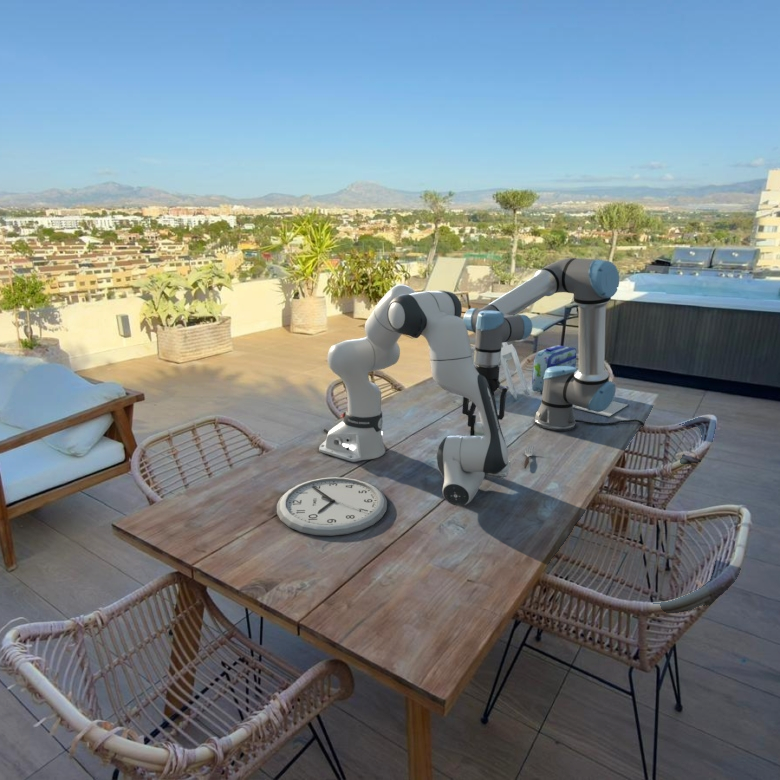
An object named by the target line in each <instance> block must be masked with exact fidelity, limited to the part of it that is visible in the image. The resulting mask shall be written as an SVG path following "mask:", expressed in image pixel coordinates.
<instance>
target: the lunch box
mask: <svg viewBox="0 0 780 780" xmlns="http://www.w3.org/2000/svg"><path fill="white" fill-rule="evenodd" d="M576 362H577V348H576V347H571V346H565V345H553V346H550V347H546V348H545V349H542V350H539V351H538V352H537V353H536V354H535V356H534V358H533V365H532V376H531V377H532V378H531V390H532V391H533V392H537V393H542V391H543V381H544V379H543V378H544V375H545V370H546V369H547V368H549V367H555V366H571V367H575V368H576V364H577V363H576Z"/></svg>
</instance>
